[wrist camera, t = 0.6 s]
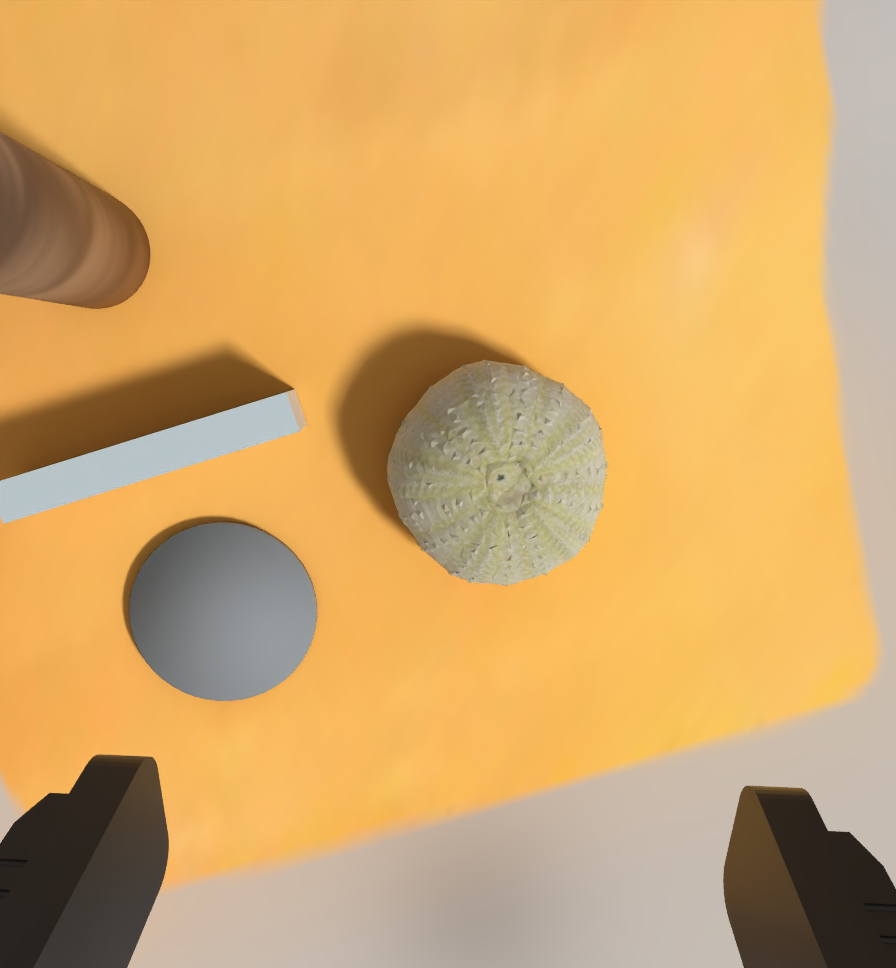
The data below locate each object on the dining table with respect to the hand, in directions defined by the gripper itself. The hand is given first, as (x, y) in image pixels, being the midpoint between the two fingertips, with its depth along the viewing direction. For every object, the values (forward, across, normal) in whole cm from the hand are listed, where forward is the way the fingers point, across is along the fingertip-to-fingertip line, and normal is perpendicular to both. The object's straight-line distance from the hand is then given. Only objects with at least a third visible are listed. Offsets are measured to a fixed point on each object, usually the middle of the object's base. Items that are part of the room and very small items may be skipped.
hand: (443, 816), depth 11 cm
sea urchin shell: (+25, -1, +5) cm, 26 cm away
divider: (+23, +13, +4) cm, 27 cm away
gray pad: (+22, +10, +11) cm, 27 cm away
